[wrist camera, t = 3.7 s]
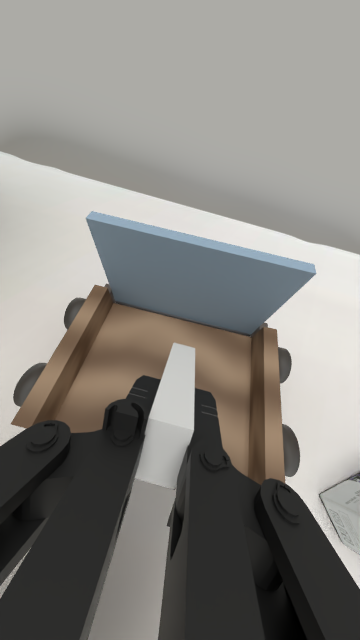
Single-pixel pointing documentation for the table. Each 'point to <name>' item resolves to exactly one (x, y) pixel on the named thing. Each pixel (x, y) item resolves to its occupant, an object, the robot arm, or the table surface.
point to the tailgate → (194, 275)
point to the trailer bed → (150, 360)
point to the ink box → (345, 511)
